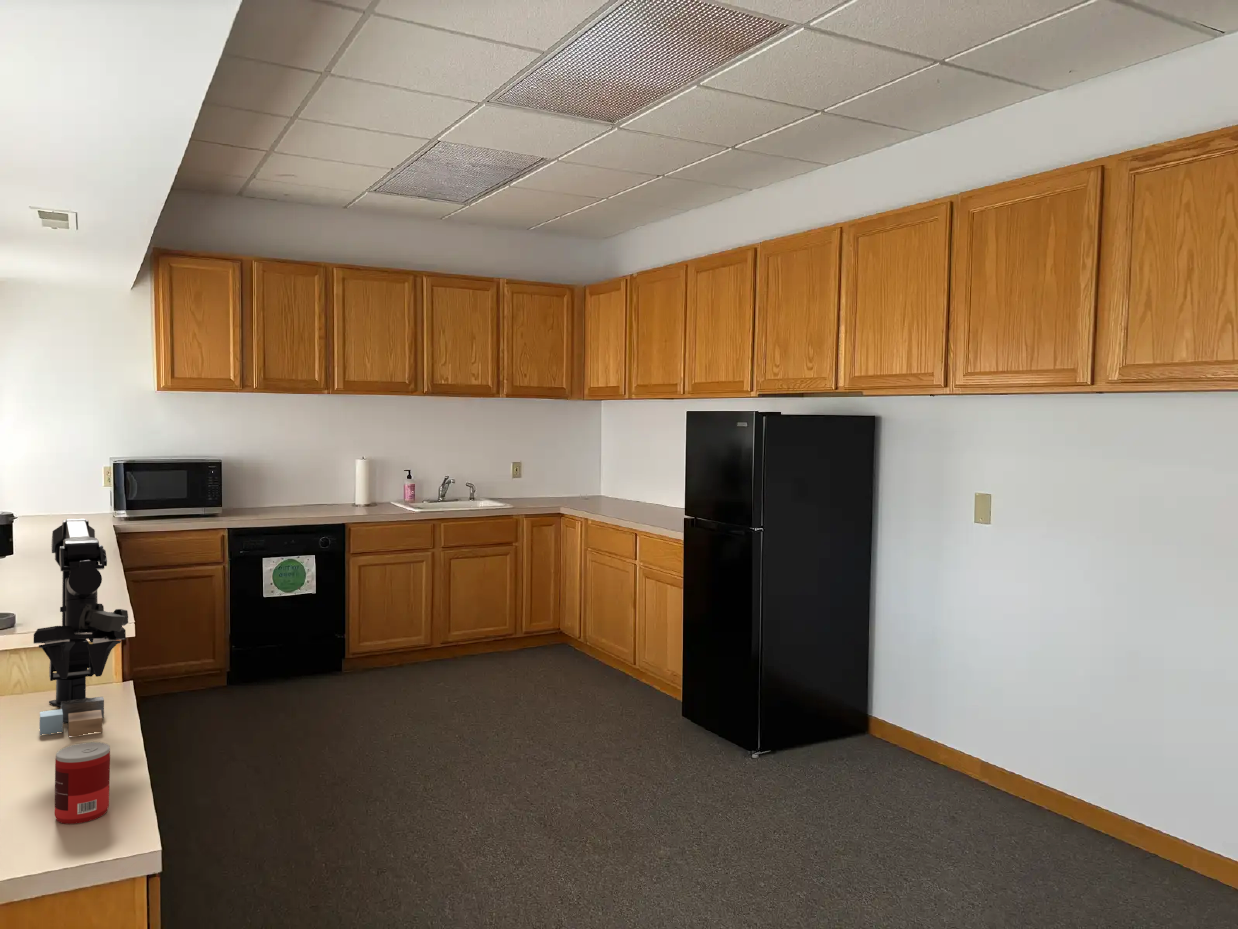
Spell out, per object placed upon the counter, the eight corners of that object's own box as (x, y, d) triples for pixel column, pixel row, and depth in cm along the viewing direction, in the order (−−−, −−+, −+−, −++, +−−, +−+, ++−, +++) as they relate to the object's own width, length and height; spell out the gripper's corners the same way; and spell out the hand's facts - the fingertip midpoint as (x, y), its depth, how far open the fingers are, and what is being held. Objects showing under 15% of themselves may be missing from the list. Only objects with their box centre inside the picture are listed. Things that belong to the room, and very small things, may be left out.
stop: (60, 719, 195) (60, 701, 195) (102, 714, 199) (103, 696, 199) (61, 723, 192) (61, 705, 192) (103, 718, 197) (104, 700, 197)
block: (39, 730, 188) (39, 711, 188) (61, 727, 190) (62, 709, 190) (39, 736, 185) (40, 717, 185) (62, 733, 187) (62, 714, 187)
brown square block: (68, 729, 190) (68, 713, 189) (100, 725, 193) (100, 709, 193) (68, 738, 185) (69, 722, 184) (102, 734, 188) (102, 717, 188)
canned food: (119, 806, 153) (120, 743, 153) (86, 826, 145) (88, 760, 145) (77, 803, 154) (78, 740, 153) (43, 823, 146) (44, 757, 145)
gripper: (81, 593, 173) (82, 674, 170) (147, 596, 191) (149, 670, 188) (31, 601, 175) (30, 682, 172) (101, 603, 193) (102, 677, 190)
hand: (81, 677), depth 180 cm, fingers open, 9 cm apart
